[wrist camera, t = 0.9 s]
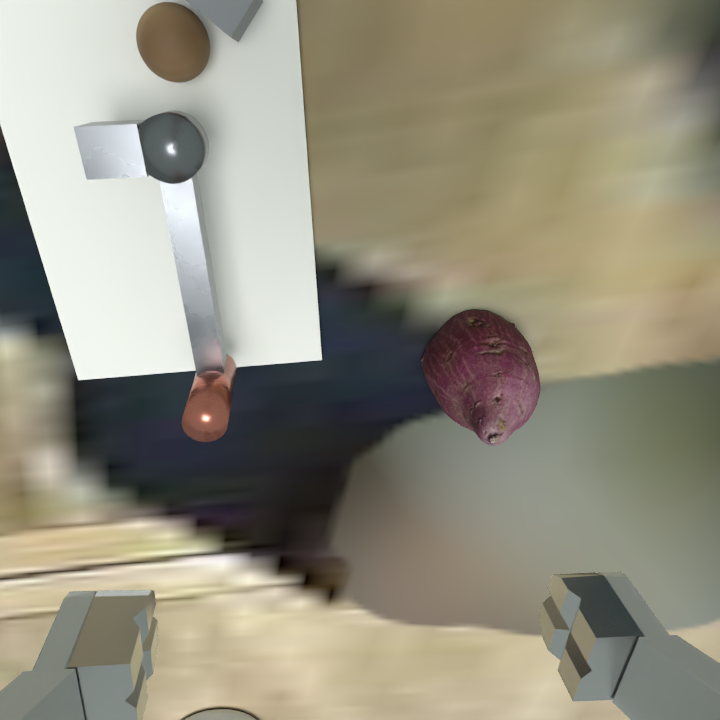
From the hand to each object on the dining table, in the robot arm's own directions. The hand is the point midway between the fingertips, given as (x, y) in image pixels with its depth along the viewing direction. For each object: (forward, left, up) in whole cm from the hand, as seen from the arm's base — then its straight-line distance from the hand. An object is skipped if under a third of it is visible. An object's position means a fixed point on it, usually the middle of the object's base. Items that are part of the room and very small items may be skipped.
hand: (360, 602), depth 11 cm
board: (-3, -10, -38) cm, 39 cm away
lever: (+3, -10, -33) cm, 34 cm away
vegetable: (+15, +15, -38) cm, 44 cm away
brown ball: (-12, -8, -37) cm, 39 cm away
